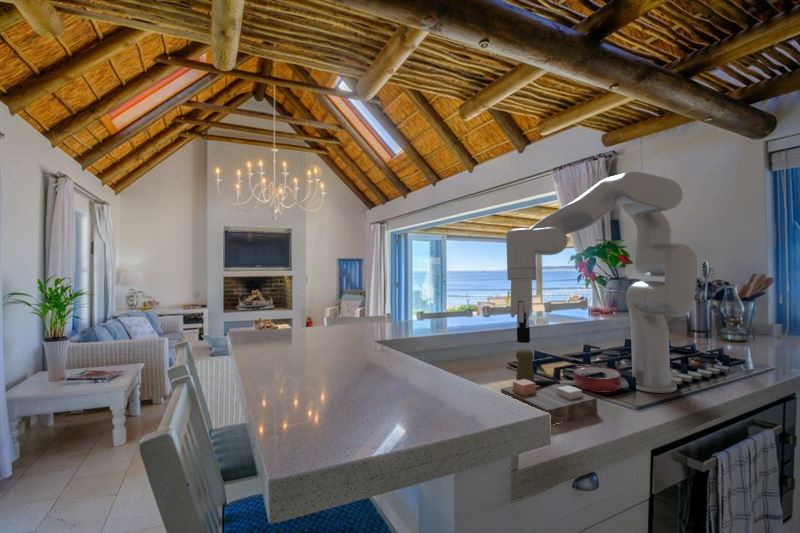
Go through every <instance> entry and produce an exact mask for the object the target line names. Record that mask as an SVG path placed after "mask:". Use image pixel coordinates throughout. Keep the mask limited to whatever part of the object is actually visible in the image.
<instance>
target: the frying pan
mask: <svg viewBox="0 0 800 533" xmlns="http://www.w3.org/2000/svg"><path fill="white" fill-rule="evenodd" d="M572 370H573V371H572V372H573V373H572V374H573V377H572V378H573V380H559V379H546V380H545V379H535V380H531V381H532V382H534V383H535V384H536V385H551V384H556V383H557V384H560V385H562V386H568V385H570V386H572V385H574V386H575V385H576V386H575V387H576V388H578V387H579V388H578V389H580V388H581V390H583V389H584V390H583V391H586V390H595V391H614V390H618V391H619V389H620V390H621V388H622V374H621V372H620V371H619V370H616V369H615V368H610V367H607V366H606V367H605V366H598V365H597V366H596V365H585V366H583V365H582V366H579V367H575V368H573V369H572ZM590 372H603V373H605V374H606V376H607V378H591V377H585V376H581V375H582V374H586V373H590Z"/></svg>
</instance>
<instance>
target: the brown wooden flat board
mask: <svg viewBox="0 0 800 533" xmlns="http://www.w3.org/2000/svg"><path fill="white" fill-rule="evenodd" d="M544 380H547V378H546V379H544ZM564 386H565V385H560V384H557V383H556V384H551V385H536V393H533V394H528V395H524V396H523V395H521V394H518V393H516V392H514V391H513V385H510V386H505V387H502V388H500V394H501V393H503V394H505V395H508V396H511V397H512V398H514V399H517V400H519V401H521V402H523V403H526V404H528V405H530V406H532V407H535V408H537V409H540V410H542V411H545V412H548V413H550V415H551V425H553V424H556V423H561V422H565V423H567V422H566V421H568V422H571V420H572V421H575V420H579V419H580V420H581V419H583V418H587V417H590V416H594V415H598V398H596V397H594V396H592V395H590V394H586V393H583V392H582V397H579V398H575V399H571V400H569V399H566V398H564V397H562V396H559V395H557V388H559V387H564ZM561 424H562V423H561ZM553 426H554V425H553Z"/></svg>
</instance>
